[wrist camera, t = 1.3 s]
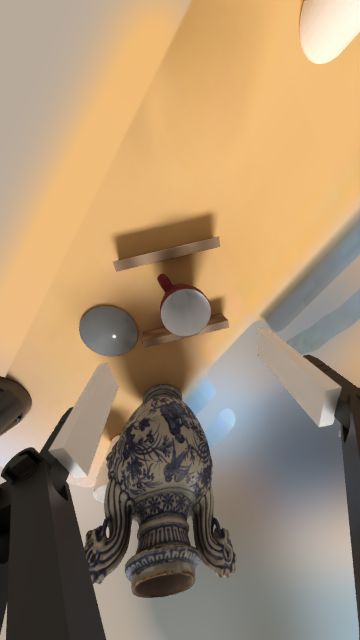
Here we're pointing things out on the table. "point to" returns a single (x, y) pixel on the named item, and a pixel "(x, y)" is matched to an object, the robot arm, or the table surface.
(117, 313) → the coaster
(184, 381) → the table surface
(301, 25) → the mug
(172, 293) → the mug
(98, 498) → the cup
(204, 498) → the decorative vase
